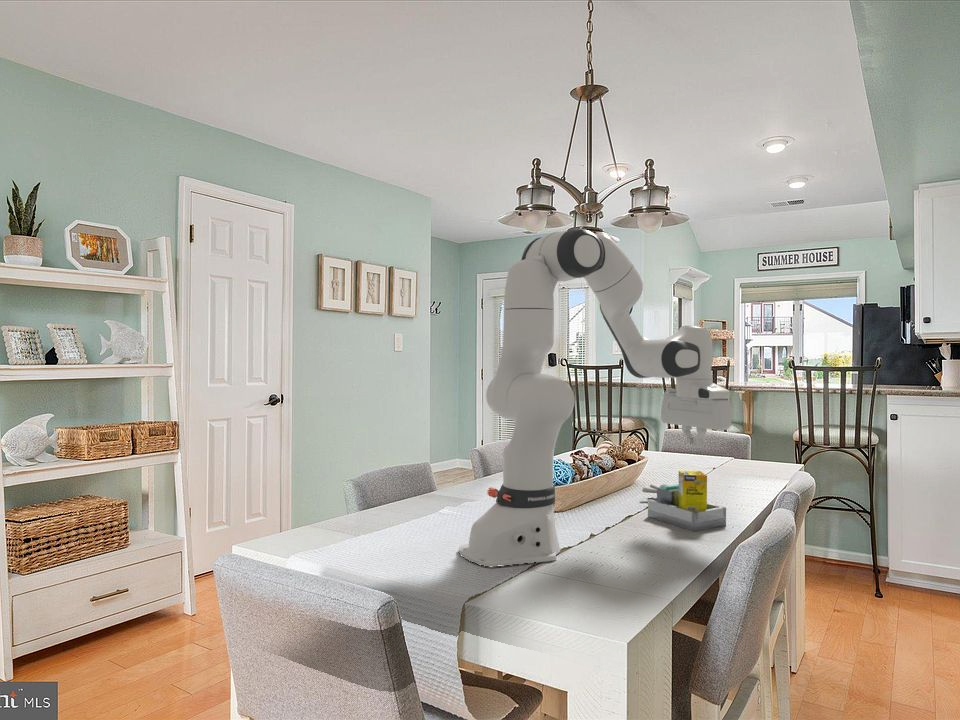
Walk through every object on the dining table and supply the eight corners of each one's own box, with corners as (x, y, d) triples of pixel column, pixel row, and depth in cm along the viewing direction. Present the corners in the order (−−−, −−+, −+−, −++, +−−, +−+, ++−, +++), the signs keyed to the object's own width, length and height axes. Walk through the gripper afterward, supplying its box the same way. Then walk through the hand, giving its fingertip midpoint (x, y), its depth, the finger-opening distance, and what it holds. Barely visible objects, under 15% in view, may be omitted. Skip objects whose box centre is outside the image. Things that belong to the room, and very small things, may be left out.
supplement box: (707, 518, 163) (707, 475, 163) (682, 518, 164) (683, 474, 164) (701, 512, 169) (701, 470, 169) (677, 512, 170) (678, 470, 170)
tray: (695, 531, 159) (695, 497, 159) (647, 516, 173) (648, 485, 173) (725, 525, 165) (726, 492, 165) (677, 511, 179) (678, 481, 179)
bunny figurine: (691, 494, 182) (641, 481, 191) (689, 512, 183) (639, 498, 192) (703, 489, 190) (654, 476, 199) (700, 506, 190) (652, 493, 199)
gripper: (655, 388, 174) (655, 440, 174) (717, 392, 156) (717, 450, 156) (672, 387, 177) (672, 438, 177) (735, 391, 159) (735, 448, 159)
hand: (694, 444), depth 167 cm, fingers closed
